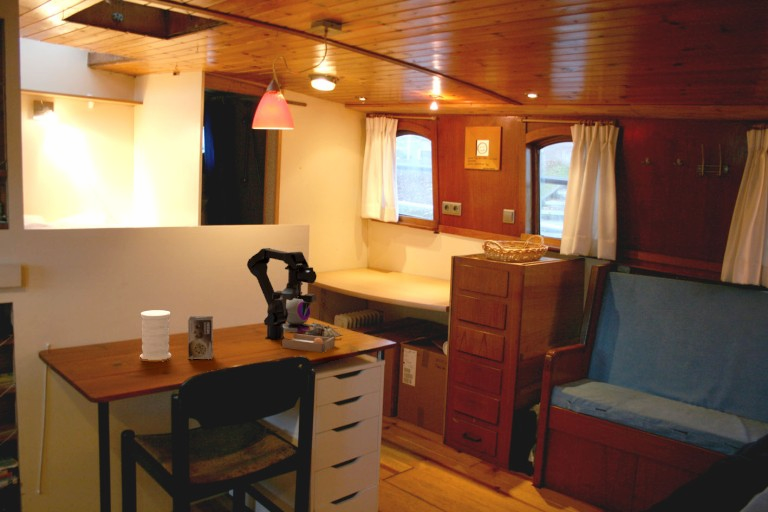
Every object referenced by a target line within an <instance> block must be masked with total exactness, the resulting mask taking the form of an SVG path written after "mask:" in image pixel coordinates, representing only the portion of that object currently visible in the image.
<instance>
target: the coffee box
mask: <svg viewBox="0 0 768 512" xmlns="http://www.w3.org/2000/svg"><path fill="white" fill-rule="evenodd" d="M213 320H214V316H205V315H204V316H189V318H188V320H187V324H188V325H187V330H188V332H187V337H188V340H187V341H188V343H187V345H188V347H187V348H188V349H187V351H188V352H187V354H188V355H187V356H188V358H187V360H188V359H208V360H209V359H211V360H212V359H213V356H214V321H213Z"/></svg>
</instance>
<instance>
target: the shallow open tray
mask: <svg viewBox="0 0 768 512" xmlns="http://www.w3.org/2000/svg"><path fill="white" fill-rule="evenodd" d="M316 338H321V339H322V340H323V343H322V344H321V343H314V340H315V339H316ZM335 339H336V337H332V338H328V337H321V336H311V335H306V334H300V333H293V338H292V339H287V338H282V346H281V347H282V348H283V349H284V348H285V349H290V350H291V349H292V350H298V351H300V350H301V351H306V350H309V351H308V352H314V351H318V352H317V353H322V352H324V353H325V351H326V352H327V351H328V350H331V349H332V348H334V347H335V343H336V342H335V341H336V340H335ZM330 348H331V349H330Z"/></svg>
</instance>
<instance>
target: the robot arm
mask: <svg viewBox="0 0 768 512" xmlns="http://www.w3.org/2000/svg"><path fill="white" fill-rule="evenodd" d="M271 259H272V260H276V261H277V260H278V261H282V262H283V263H284V264H285V265H287V266H285V267H284V269H285V270H286V271H287V270H288V273H287V274H288V275H287V277H288V278H287V280H288V281H287V283H286V285H285V286H286V287H285V288H284V289H283V290H276V291H275V290H274V287H273V285H272V282H271V281H270V278H269V276H268V264H269V262H270V261H271ZM246 265H247V267H246V268H247V269H248V270H249V272H250V274H252V276H254V277H255V278H256V280H257V283H258V285H259V286H260V291H261V292H262V295H263V296H264V299H265V301H266V304H267V309H266V310H267V316H266V317H265V318H264V319H263V324H264V326H266V330H267V331H266V336H265V338H264V339H267V340H277V341H278V340H280V339H284V338H285V335H284V333H285V331H284V328H283V325H284V324H287V323H286V322H287V321H286V320H287V317H288V312H287V311H288V310H287V308H286V303H287V301H289V300H293V299H302V300H303V301H304V302H302V304H303V317H304V316H305V314H306V312H307V310H308V308H309V307H310V306H311V304H312V303H314V302H316V301H317V295H316V294H315V293H306V294H303V291H302V285H303V283H306V284H311V285H312V284H314V283H315V282H316V280H317V276H318V275H317V273H316V271H315V270H314V267H311V266H309V264H308V262H307V259H306V257H305V256H304V252H302V251H289V252H288V251H283V250H279V249H275V248H274V249H273V248H270V247H265V248H261V249H259V251H258V252H257V253H255V254H253V255H252V256H251V257H250V258H249V259H248V260H247V264H246Z"/></svg>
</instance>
